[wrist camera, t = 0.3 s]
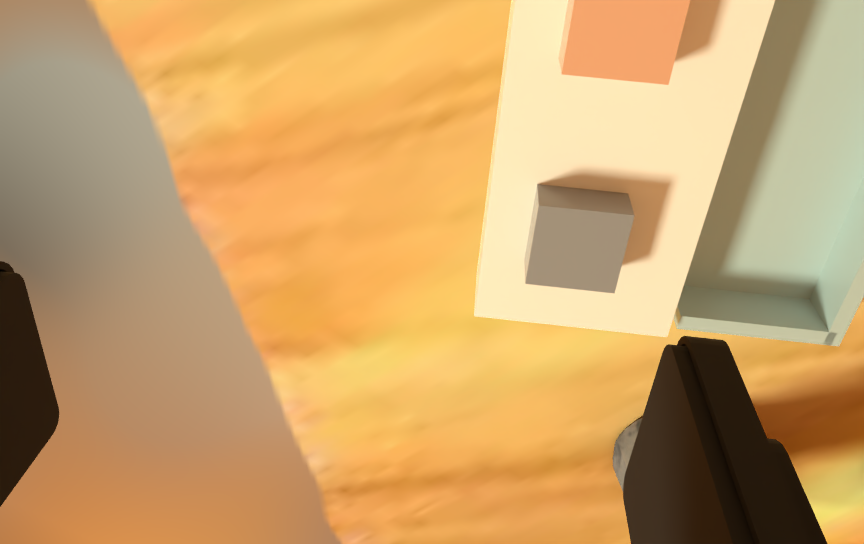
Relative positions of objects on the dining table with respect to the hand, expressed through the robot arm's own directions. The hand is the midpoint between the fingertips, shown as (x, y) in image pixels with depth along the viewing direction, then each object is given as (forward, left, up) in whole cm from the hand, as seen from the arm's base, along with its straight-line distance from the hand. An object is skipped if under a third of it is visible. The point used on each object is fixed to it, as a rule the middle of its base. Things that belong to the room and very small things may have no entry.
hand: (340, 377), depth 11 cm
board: (+7, +9, -34) cm, 36 cm away
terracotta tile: (+1, +8, -29) cm, 30 cm away
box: (+7, +21, -34) cm, 40 cm away
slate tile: (+13, +8, -29) cm, 32 cm away
